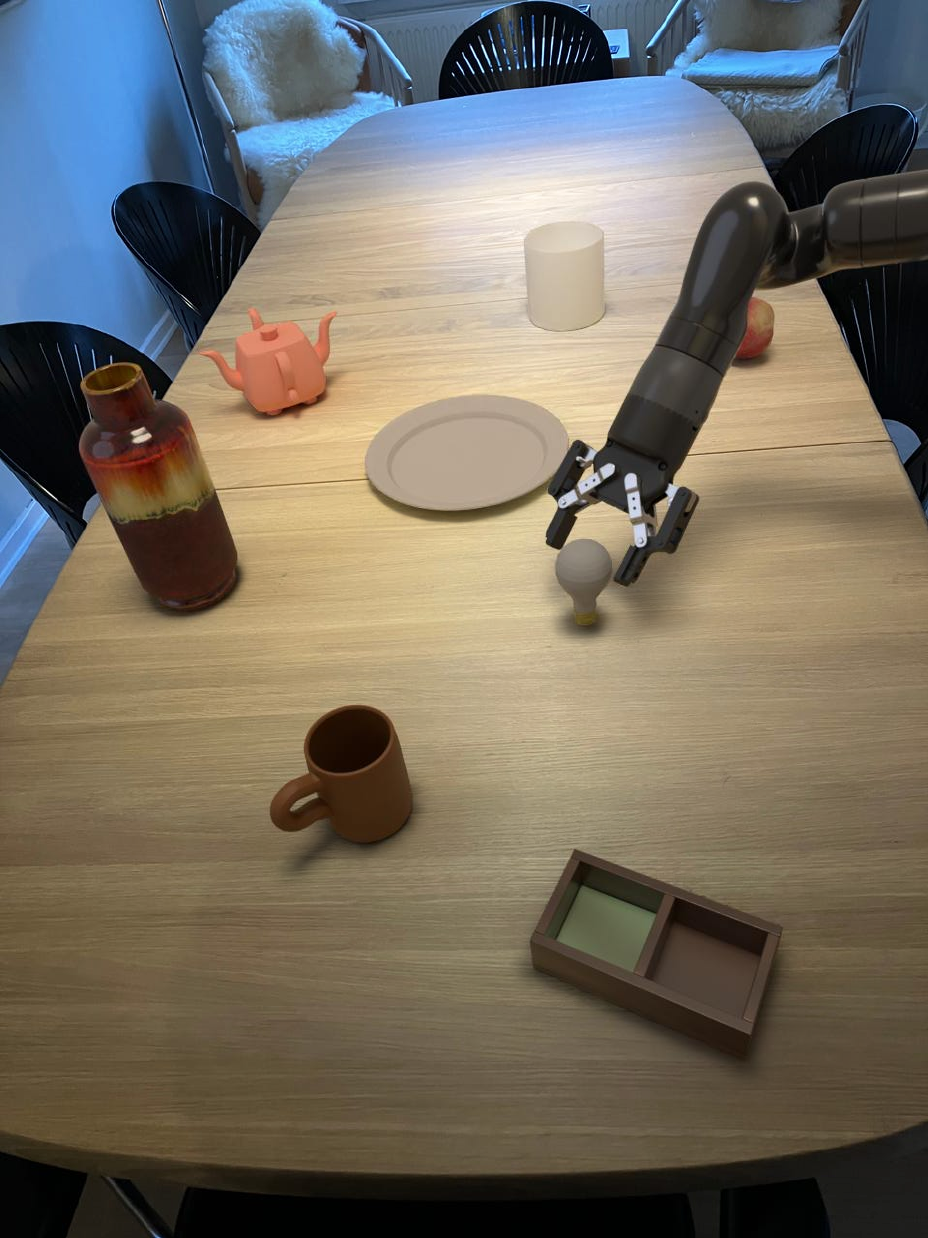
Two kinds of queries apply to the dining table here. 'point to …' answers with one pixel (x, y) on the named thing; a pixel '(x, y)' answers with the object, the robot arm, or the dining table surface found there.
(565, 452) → the plate
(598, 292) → the cup
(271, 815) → the mug
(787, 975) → the dining table surface
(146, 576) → the vase
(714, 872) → the dining table surface
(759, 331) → the fruit
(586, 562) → the light bulb
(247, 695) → the dining table surface
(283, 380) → the teapot
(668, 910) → the tray
